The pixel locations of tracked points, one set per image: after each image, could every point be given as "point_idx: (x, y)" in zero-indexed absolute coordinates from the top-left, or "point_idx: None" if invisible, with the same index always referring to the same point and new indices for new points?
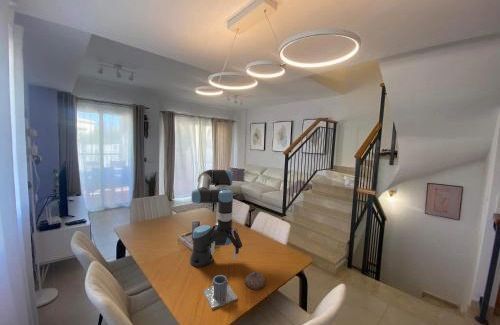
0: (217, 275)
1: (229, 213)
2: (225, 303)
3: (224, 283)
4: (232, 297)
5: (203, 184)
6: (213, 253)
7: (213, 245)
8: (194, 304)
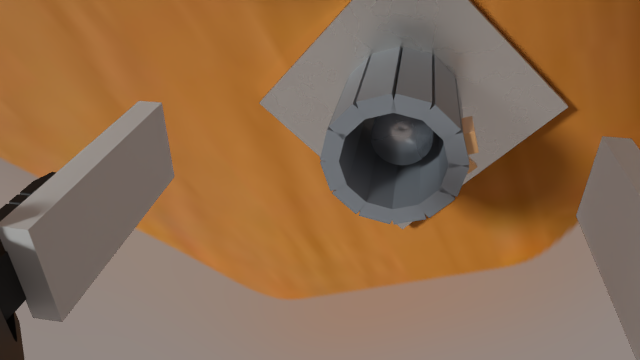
0: (342, 115)
1: None
2: (477, 170)
3: (455, 192)
4: (520, 114)
5: None
6: (168, 143)
7: (88, 242)
8: (278, 209)
